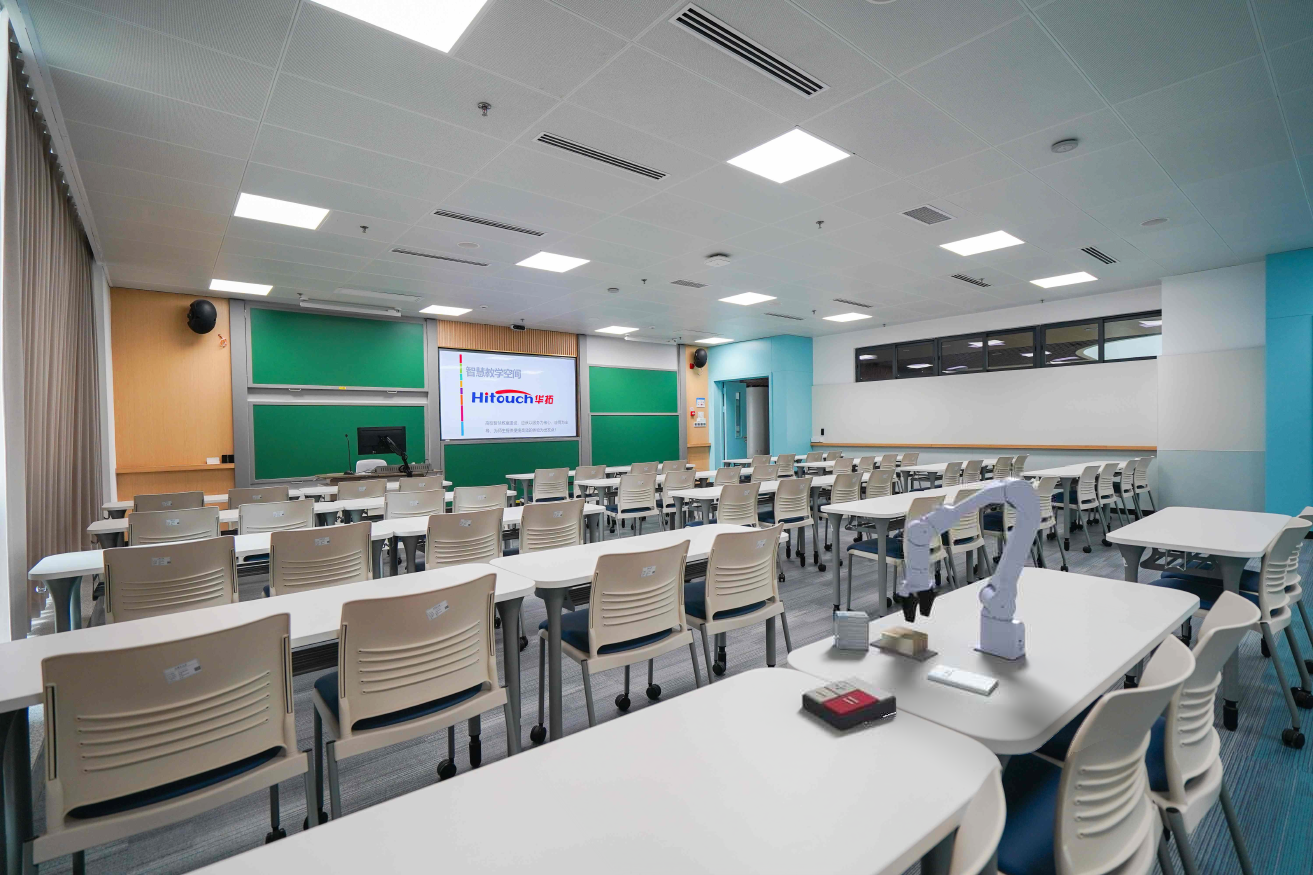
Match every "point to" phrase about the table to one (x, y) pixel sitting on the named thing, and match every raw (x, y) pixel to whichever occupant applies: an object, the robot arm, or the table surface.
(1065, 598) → the table surface
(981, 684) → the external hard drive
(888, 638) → the block
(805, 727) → the table surface
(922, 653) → the mat
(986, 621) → the robot arm
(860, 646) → the medicine box
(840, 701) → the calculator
